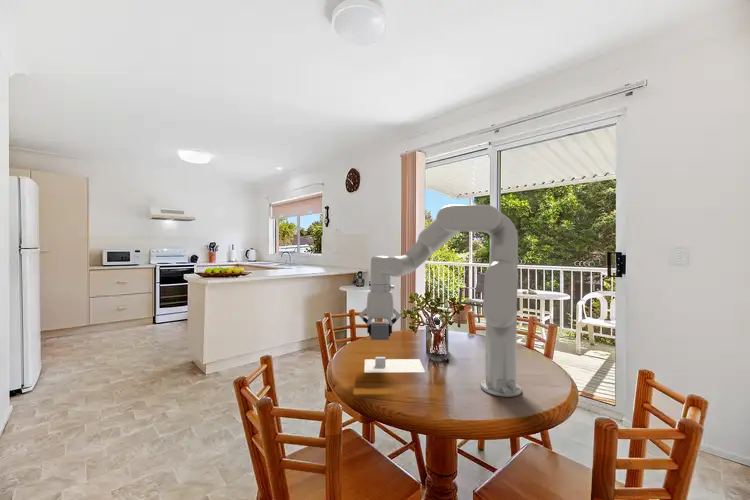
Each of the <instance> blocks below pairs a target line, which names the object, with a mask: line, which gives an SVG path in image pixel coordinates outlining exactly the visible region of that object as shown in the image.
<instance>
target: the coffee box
mask: <svg viewBox="0 0 750 500" xmlns="http://www.w3.org/2000/svg"><path fill="white" fill-rule="evenodd" d="M434 317H435V318H434V322H435V324H436V325H439V324H440V320H439V319H438V317H439V316H434ZM426 323H428V321H427V319H425V353H426V354H429V353H430V347H431V338H432V334H431V330H430V328H429V326H426V325H427V324H426ZM446 327H447V330H446V329H445V334H444V335H445V336H444V337H445V345H446V346H445V347H446V351H447V354H446V355H445V356H448V355H449V325H448V326H446Z"/></svg>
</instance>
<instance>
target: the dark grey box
mask: <svg viewBox="0 0 750 500" xmlns="http://www.w3.org/2000/svg"><path fill="white" fill-rule="evenodd" d="M388 324H389V322H388V321H371V336H370V340H371V341H389V339H390V336H389V325H388Z"/></svg>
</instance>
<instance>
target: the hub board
mask: <svg viewBox="0 0 750 500" xmlns="http://www.w3.org/2000/svg"><path fill="white" fill-rule="evenodd" d="M363 373H366V374H367V373H369V374H370V373H371V374H372V373H373V374H374V373H377V374H379V373H397V374H398V373H426V370H425V368H424V366H423V364H422V361H421V359H419V358H416V359H415V358H409V359H405V358H403V359H402V358H400V359H399V358H397V359H396V358H388V359H386V356H375V359H374V358H373V359H372V358H371V359H364V371H363Z"/></svg>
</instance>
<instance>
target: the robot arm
mask: <svg viewBox="0 0 750 500" xmlns="http://www.w3.org/2000/svg"><path fill="white" fill-rule="evenodd" d="M459 232H471V233H472V232H473V233H476V232H477V233H485V234H488V236H489V238H490V247H489V263H488V264H489V265H488V266H487V268H486V270H485V272H484V278H483V279H484V280H483V281H484V282H483V300H482V301H483V302H482V315H483V317H484V320H485V356H484V357H485V359H484V360H485V363H484V364H485V369H484V370H485V378H483V380H480V388H481V389H482V390H483V391H484V392H486V393H487V394H490V395H494V396H497V397H504V398H509V397H513V398H514V397H516V396H519V395H520V394H522V387H521V385H520V384H518V382H517V341H518V340H517V337H518V335H517V331H518V330H517V325H518V324H517V323H518V318H517V317H518V315H517V314H518V307H517V303H518V287H519V286H518V285H519V271H518V262H519V261H518V260H519V259H518V258H519V238H518V237H519V235H518V232H517V228H516V225H515V224H514V223H513V221H512V220H511V219H510V218H509V217H508V216H507V215H505V214H504V213H503V212H501V211H499V210H498V209H497V208H496V207H495V206H492V205H489V204H448V205H444V206H442V207H441V208H439V210H438V212H437V213H436V219H434V220H433V221H432V222H431V223H429V225H427V226H426V227H425V228H424V229H423V230H422V231H421V232H419V234H418V237H417V241H416V242H415V244H414V245H413V246H412V247H411V248H410V249H408V251H406V252H405V253H404V254H403V255H395V256H387V255H375V256H372V257H371V259H370V290H369V291H368V293H367V299H366V307H365V308H364V309H363V310H361V312H360V313H359V314H358V316H359V318H360V319H361V320H362V321H363V322H364V323H365V324H366V326H367V329H366V331H367V334H368V336H369V337H371V322H373V320H374V319H376V320H378V319H382V320H387V322H388V325H389V337H390V336H391V334H392V333H393V325H394V324H395V323H396V322H398V320H399V319H400V318H401V314H400V312H398V311H397V310H396V309H395V308H394V297H393V291H392V290H395V286H394V285H392V284H391V277H395V278H397V277H398V278H399V277H404V276H407V275H410V274H412V273H413V272H414V271H416V270H417V269H418V268H419V267H420V266H422V264H424V263H425V262H426V261H427V260H428V259H429V258H430V257H431V256H432V255H434V253H435V252H436V251H437V250H438V249H440V248H441V247H443V245H444V244H445V243H447V242H448V241H450V239H452V238H453V237H454V236H455V235H457V234H458V233H459ZM365 315H366V316H365ZM394 315H395V316H394Z"/></svg>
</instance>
